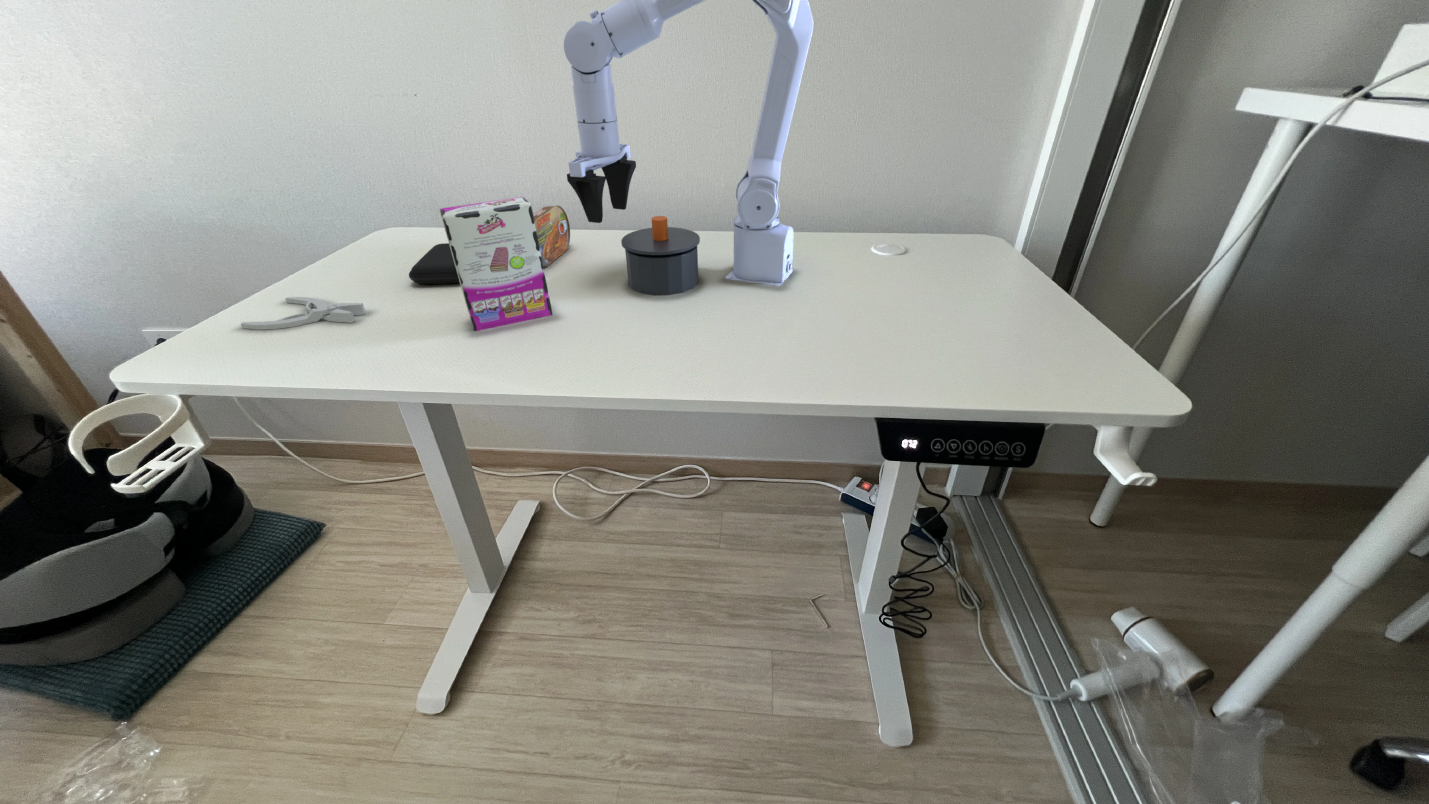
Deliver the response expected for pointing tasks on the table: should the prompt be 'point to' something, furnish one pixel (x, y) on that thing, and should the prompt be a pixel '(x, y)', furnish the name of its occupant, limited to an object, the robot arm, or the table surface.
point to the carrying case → (435, 267)
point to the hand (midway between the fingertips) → (607, 215)
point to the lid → (660, 239)
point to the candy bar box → (498, 261)
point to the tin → (552, 232)
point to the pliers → (312, 314)
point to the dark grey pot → (662, 272)
